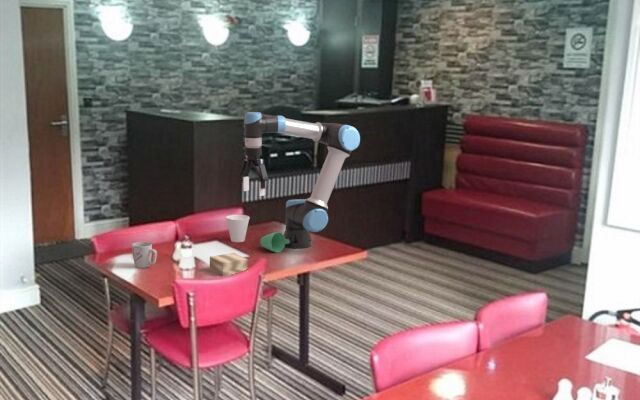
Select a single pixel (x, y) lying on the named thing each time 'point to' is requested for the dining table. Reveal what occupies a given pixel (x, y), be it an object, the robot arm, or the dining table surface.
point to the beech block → (228, 264)
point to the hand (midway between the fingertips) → (253, 193)
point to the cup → (237, 227)
